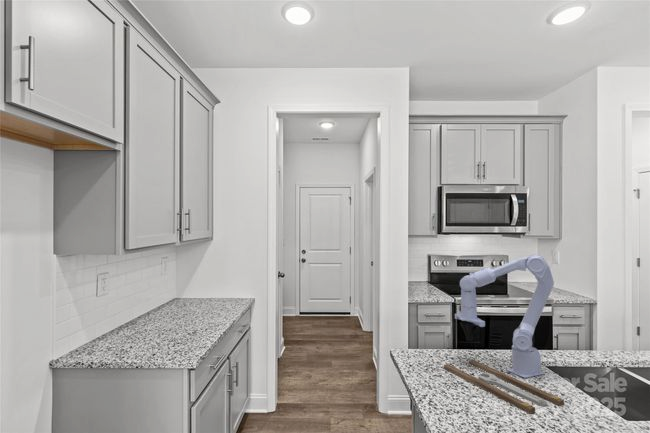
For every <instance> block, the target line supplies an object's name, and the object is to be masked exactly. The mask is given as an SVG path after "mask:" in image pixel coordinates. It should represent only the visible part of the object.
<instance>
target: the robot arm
mask: <svg viewBox="0 0 650 433" xmlns="http://www.w3.org/2000/svg"><path fill="white" fill-rule="evenodd" d="M515 271H522V272H527V271H529V272H530V273H531V274H532V275H533V276H534V277H535V279H536V281H537V284H536V287H535V290H534V292H533V295H532V297H531V299H530V302H529V304H528V306H527V309H526V311H525V313H524V316H523V317H522V321H521V322H520V324H519V326H518V327H517V328H516V329H514V331H513V333H512V334H513V335H512V336H513V337H512V345H511V359H512V360H511V361H512V362H511V363H512V368H507V369H506V371H508V372H509V373H512V374H515V375H517V376H519V377H522V378H523V379H527V378H532V377H536V376H541V375H544V372H543V371H542V361H541V360H542V358H541V357H542V356H541V353H540V351H539V350H538V349H537V348H536V347H533V336H534V333H535V330H536V328H537V327H536V326H537V324H538V322H539V320H540V318H541V316H542V312H543V310H544V308H545V306H546V303H547V302H548V299H549V296H550V294H551V292H552V290H553V287H554V284H555V281H554V278H553V274H552V271H551V268H550V266H549V263H548V262H547V261H546V260H545V258H544V257H543V256H541V255H540V254H531V255H529V256H524V257H520V258H516V259H514V260H511V261H509V262H507V263H504V264H502V265H499V266H497V267H495V268H489V267H481V268H480V270H478V271H476V272H469V275H464V276H463V277H462V278H461V279H460V280H459V287H460V288H461V289H460V309H461V313H454V319H455V320H460V321H462V322H459V323H460V327H461V329H462V330H463V333H464V335H465V339H466V341H467V342H470V343H471V342H473V341H474V338H475V334H476V331H477V329H478V328H479V327H480V328H484V327H486V321H485V320H482V319H481V318H479V317H478V310H477V308H478V306H477V304H478V303H477V293H476V288H481V287H483V286H486V285H490V284H491V283H494V282H495V281H496V278H498V277H500V276H503V275H506V274H509V273H513V272H515Z"/></svg>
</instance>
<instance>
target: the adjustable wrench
mask: <svg viewBox="0 0 650 433" xmlns="http://www.w3.org/2000/svg"><path fill="white" fill-rule="evenodd" d="M484 376H485V377H484ZM486 377H488V378H486ZM478 379H479V380H481V381H483V382H485V383H487V384H489V385H492V384H494V385H493V386H496V385H497V387H500V388H501V389H503V388H504V389H503V390H505V389H506V390H505V391H507V390H508V392H509V391H510V393H511V392H512V394H513V395H515V396H518V397H520V398H523V399H525V400H526V401H529V402H531V403H532V404H535V405H537V406H540V407H542V408H543V407H544V408H546V407H548V401H547V400H545V399H543V398H541V397H538V396H536V395H534V394H532V393H530V392H528V391H525V390H523V389H521V388H519V387H517V386H514V385H512V384H511V385H510V383H509V384H508V382H505V381H503V380H502V379H500V378H497V377H496V376H495V375H493V374H490V373H487V372H482V373H481V375H480V374H479V375H478Z"/></svg>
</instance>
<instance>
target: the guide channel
mask: <svg viewBox="0 0 650 433" xmlns="http://www.w3.org/2000/svg"><path fill="white" fill-rule="evenodd" d="M469 364H470V365H469ZM468 365H469V366H472V365H473V366H472V367H474V366H475V367H474V368H476V367H478V368H480V369H482V370H484V371H483V372H485V371H486V372H485V373H487V372H488V373H490V374H493V375H495V376H496V377H498V379H499V380H501V381H503V382H506V381H507V382H506V383H508V382H509V384H510V383H511V385H512V386H514V387H516V388H518V389H520V390H522V391H525V392H527V393H529V394H531V395H534V396H536V397H538V398H540V399H543V400H545V401H547V402H550V403H552V404H554V405H556V406H558V407H562V406H564V405H565V400H564V399H562V398H561V397H560V396H558V395H554V394H552V393H549V392H547V391H545V390H542V389H540V388H537V387H535V386H533V385H531V384H528V383H526V382H524V381H522V380H520V379H518V378H515V377H513V376H510V375H509V374H506V373H504V372H502V371H499V370H497V369H496V368H492V367H490V366H488V365H486V364H483V363H481V362H479V361H476V359H469V360H468ZM478 368H477V369H478ZM443 369H444V370H446V371H447V372H450V373H452V374H454V375H455V376H458V377H459V378H460V379H463V380H464V381H466V382H468V381H469V383H470V382H471V384H472V383H473V384H472V385H474V384H475V385H474V386H476V385H477V386H476V387H478V386H479V388H480V387H481V388H480V389H482V388H483V389H482V390H484V391H486V392H487V391H488V393H489V392H490V394H491V393H492V394H491V395H493V394H494V395H493V396H495V397H497V398H499V399H501V400H503V401H504V402H507V403H508V402H509V403H508V404H510V403H511V405H512V404H513V406H514V407H516V408H518V409H520V410H522V411H524V412H526V413H527V414H530V415H532V414H535V413H536V407H535V406H533V405H532V404H530V403H528V402H525V401H524V400H521V399H519V398H518V397H515V396H513V395H511V394H509V393H507V392H505V391H503V390H501V389H500V388H497V387H495V386H494V385H492V384H487V383H485V382H483V381H481V380H479V378H477V377H475V376H473V375H471V374H469V373H467V372H466V371H463V370H461V369H459V368H458V367H455V366H453V365H451V364H449V363H446V364H443ZM480 369H479V370H480ZM482 370H481V371H482Z"/></svg>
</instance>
